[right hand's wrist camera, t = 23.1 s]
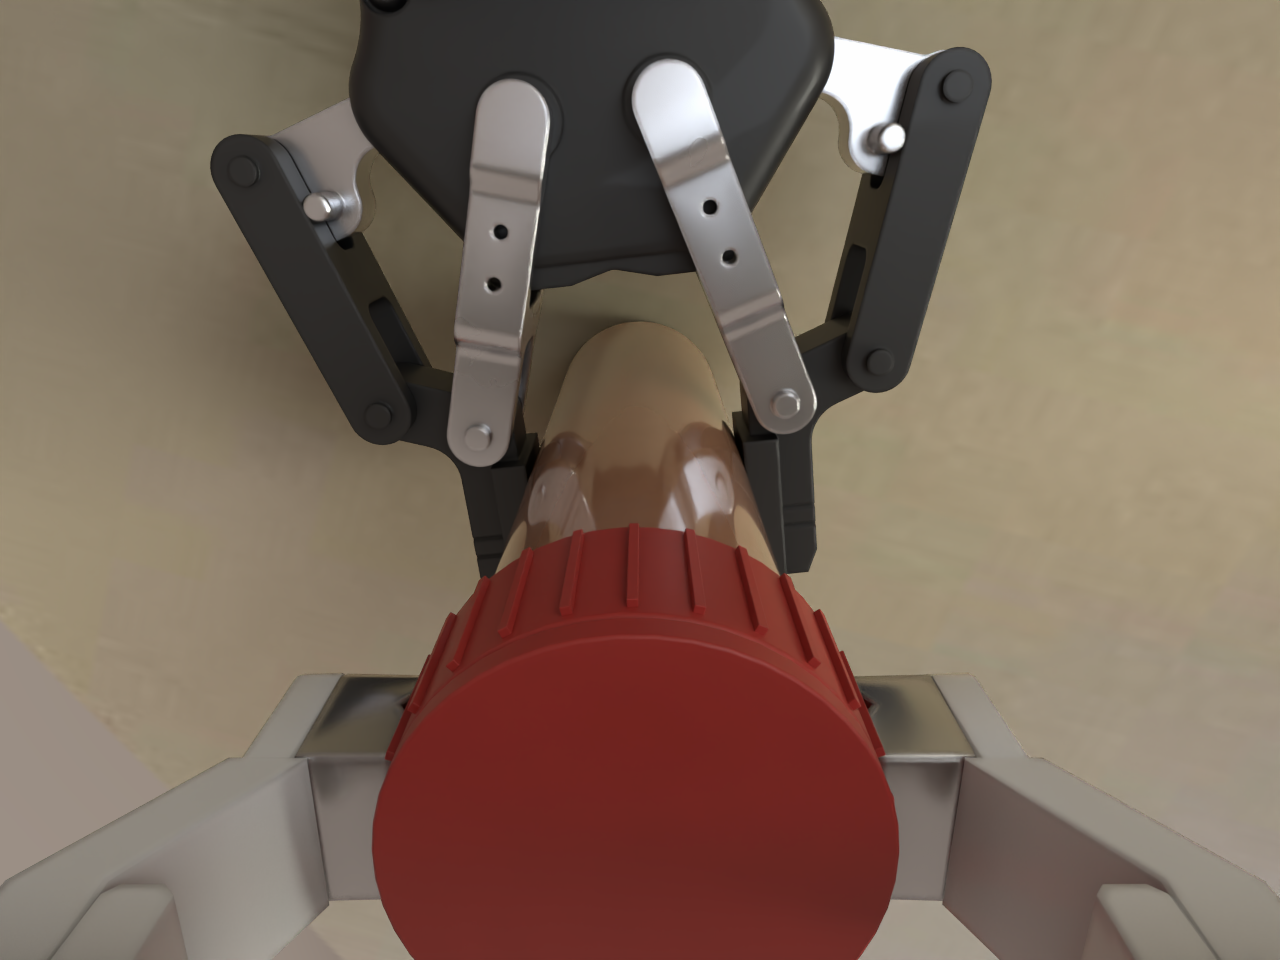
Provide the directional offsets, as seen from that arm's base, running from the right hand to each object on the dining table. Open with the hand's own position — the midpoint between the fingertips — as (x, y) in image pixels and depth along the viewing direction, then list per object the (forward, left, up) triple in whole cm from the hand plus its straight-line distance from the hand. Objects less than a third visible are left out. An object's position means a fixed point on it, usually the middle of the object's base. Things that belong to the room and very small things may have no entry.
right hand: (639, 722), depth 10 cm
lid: (0, 0, +2) cm, 2 cm away
